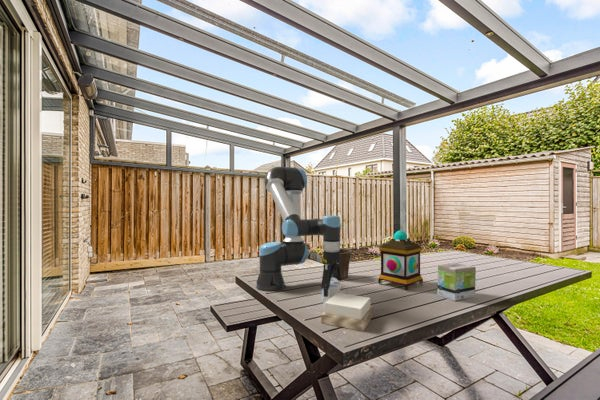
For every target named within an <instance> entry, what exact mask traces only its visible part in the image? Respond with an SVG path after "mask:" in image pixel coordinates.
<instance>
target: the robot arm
mask: <svg viewBox="0 0 600 400" xmlns="http://www.w3.org/2000/svg"><path fill="white" fill-rule="evenodd" d="M265 174H266V175H265V176H264V186H265V189H266V191H267V192H268V193H270V195H271V198H272V199H273V201H274V203H275V205H276V208H277V210H278V212H279V214H280V216H281V219H282V221H283V222H282V225H281V230H282V234H283V235H284V236H285V237H284V239H283V240H282V242H280V241H270V242H266V243H263V244H261V245H260V247H259V253H258V255H259V273H258V277H257V280H256V283H255V286H256V287H255V288H256V289H257V290H260V291H268V292H269V291H273V292H274V291H279V290H282V289H284V288H285V284H286V283H285V280H284V276H283V272H282V267H285V266H293V265H295V266H297V265H301V264H304V263H305V262H306V261H307V259H308V256H309V248H308V245H307V243H305V240H304V239H303V238H302V237H303V236H304V237H305V236H306V237H309V236H322V237H323V238H322V239H323V241H322V244H323V245H322V249H323V251H322V255H323V256H322V257H323V260H324V261H326V264H325V263H324V264H323V271H322V272H323V273H322V278H321V285H320V288H321V289H322V288H323V302H322V304H323V305H324V303H325V302H326V301H328V300H329V299H330V289H329V286H330V281H331V277H332V274H333V277H334V278H337V280H338V281H339V283H340V282H342V280H343V279H341V272H340V266H339V260H340V251H339V250H340V249H341V246H342V243H341V226H342V224H341V217H340V216H339V215H323V218H310V219H309V218H308V219H304V218H303V219H301V218H302V217H301V214H302V213H301V211H302V210H301V195H302V193H303V192H304V189H305V188H306V187H307V185H308V184H307V183H308V176H307V174H306V171H304V169H303V168H301V167H300V168H299V167H294V166H293V167H292V166H291V167H290V166H287V167H286V166H275V167H272V168H270V169H269V170H268V171H267V172H266V173H265ZM340 284H341V283H340ZM325 285H326V286H325Z"/></svg>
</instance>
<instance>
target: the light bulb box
mask: <svg viewBox="0 0 600 400" xmlns="http://www.w3.org/2000/svg"><path fill="white" fill-rule="evenodd" d="M325 286H326V285H325ZM329 289H330V298H331V297H333V296H334V295H335V294H336V293H341V283H339V281H338V280H337V278H331V281H330V286H329ZM321 302H322V303H323V288H321Z"/></svg>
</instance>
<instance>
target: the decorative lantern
mask: <svg viewBox="0 0 600 400" xmlns="http://www.w3.org/2000/svg"><path fill="white" fill-rule="evenodd" d="M378 249H379V250H380V274H379V276H378V278H377V279H378V280H377V281H378V282H377V283H378V285H382V282H383V281H385V282H389V283H392V284H393V283H394V284H397V285H402V286H404V290H405V291H406V292H407V291H408V290H409V286H411V285H413V284H415V283H418V282H419V285H420V286H423V284H424V279H423V276H422V274H421V252H422V250H423V247H422V246H421V245H420V244H418V243H415V242H413V241H412V240H411V239H410V238H408V235H407V233H406V232H405V231H403V230H398V231H396V232H395V233H394V234H393V238H391V240H388V242H385V243H382V244H381V245H380V246H379V247H378Z"/></svg>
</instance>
